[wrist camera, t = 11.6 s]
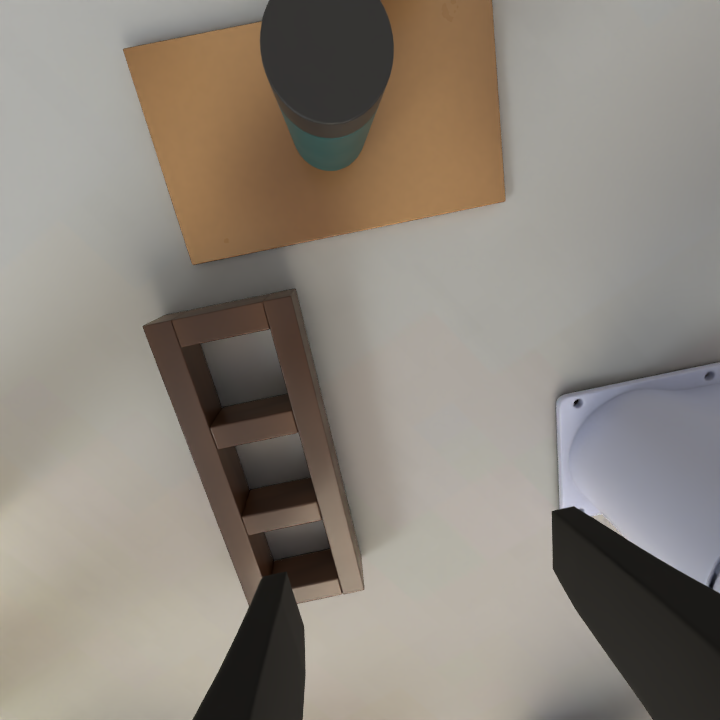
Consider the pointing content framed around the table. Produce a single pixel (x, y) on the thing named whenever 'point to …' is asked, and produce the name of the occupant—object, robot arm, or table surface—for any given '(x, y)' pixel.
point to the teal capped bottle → (327, 73)
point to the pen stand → (255, 423)
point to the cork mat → (278, 152)
